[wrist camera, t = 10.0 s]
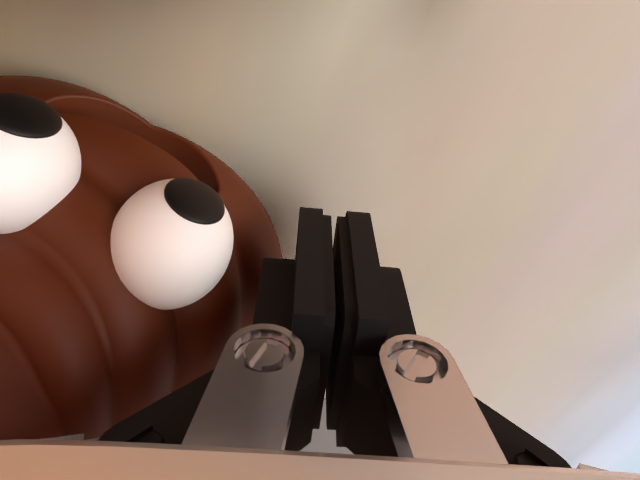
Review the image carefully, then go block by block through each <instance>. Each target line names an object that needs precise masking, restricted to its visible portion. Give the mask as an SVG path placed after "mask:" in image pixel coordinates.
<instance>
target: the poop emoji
mask: <svg viewBox="0 0 640 480" xmlns="http://www.w3.org/2000/svg"><path fill="white" fill-rule="evenodd" d="M264 257H268V258H280V259H282V254H281V249H280V245H279V241H278V238H277V235H276V232H275V229H274V227H273V224H272V222H271V220H270V218H269V216H268V214H267V212H266V210H265V209H264V207H263V205H262V204H261V202H260V201H259V199H258V198H257V196H256V195H255V194H254V193H253V191H252V190H251V189H250V188H249V186H248V185H247V184H246V183H245V182H244V181H243V180H242V179H241V178H240V177H239V176H238V175H237V174H236V173H235V172H234V171H233V170H232V169H231V168H230V167H228V166H227V165H226V164H225V163H223V162H222V161H221V160H220V159H218V158H217V157H216V156H214V155H213V154H211V153H210V152H208V151H207V150H205V149H203V148H202V147H200V146H199V145H197V144H195V143H193V142H191V141H189V140H187V139H185V138H183V137H181V136H179V135H177V134H175V133H173V132H170V131H168V130H165V129H162V128H159V127H156V126H153V125H151V124H150V123H149V122H148V121H146V120H145V119H144V118H142V117H141V116H139V115H138V114H136V113H135V112H133V111H131V110H130V109H128V108H127V107H125V106H123V105H121V104H119V103H118V102H116V101H114V100H112V99H110V98H108V97H105V96H103V95H101V94H99V93H96V92H94V91H91V90H88V89H86V88H83V87H80V86H77V85H73V84H70V83H66V82H62V81H57V80H52V79H46V78H40V77H30V76H0V440H12V439H44V438H52V437H60V436H67V435H75V434H83V433H84V434H85V439H86V440H88V439H96V438H100V437H101V436H102V435H103V433H104V432H106V431H107V430H108V429H110V428H111V427H113V426H114V425H115V424H117V423H119V422H120V421H122V420H124V419H126V418H128V417H129V416H131V415H133V414H135V413H136V412H138V411H140V410H142V409H144V408H145V407H147V406H149V405H151V404H152V403H154V402H156V401H158V400H160V399H161V398H163V397H165V396H167V395H168V394H170V393H172V392H174V391H176V390H177V389H179V388H181V387H183V386H184V385H186V384H188V383H190V382H192V381H193V380H195V379H197V378H199V377H200V376H202V375H204V374H206V373H208V372H209V371H211V370H213V369H215V367H216V365H217V363H218V361H219V358H220V356H221V354H222V352H223V349H224V347H225V345H226V343H227V341H228V340H229V338H230V337H231V336H232V335H233V334H234V333H235V332H237V331H238V330H239V329H242V328H244V327H247V326H249V325H252V323H253V317H254V311H255V305H256V299H257V293H258V287H259V280H260V274H261V268H262V262H263V258H264Z"/></svg>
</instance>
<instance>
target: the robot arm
mask: <svg viewBox="0 0 640 480" xmlns="http://www.w3.org/2000/svg"><path fill="white" fill-rule="evenodd" d="M325 388H326V426H327V430H336V447H347V448H348V449H349V450H350V451H351V452H352V453H353V454H339V453H322V452H305V451H300V450H302V449H303V448H304V447H305V446H307V445H308V444H309V443H310V442H311V438H312V431H313V429H319V428H320V421H321V415H322V408H323V401H324V395H325ZM0 480H640V474H636V473H626V472H612V471H607V470H603V469H599V468H595V467H591V466H588V465H584V464H580V463H579V465H578V467H577V468H576V469H574V468H571V467H570V465H569V464H568V463H567V462H566V461H565V460H564V459H563V458H562V457H561V456H559V455H558V454H557V453H556V452H555V451H553V450H552V449H550V448H549V447H547V446H546V445H544V444H543V443H541V442H540V441H539V440H537V439H536V438H534V437H533V436H531V435H530V434H528V433H527V432H525V431H524V430H522V429H521V428H519V427H518V426H516V425H515V424H514V423H512V422H511V421H509V420H508V419H506V418H505V417H503V416H502V415H500V414H499V413H497V412H496V411H494V410H493V409H491V408H490V407H489V406H487V405H486V404H484V403H483V402H481V401H480V400H478V399H477V398H475V397H474V396H473V394H472V393H471V391H470V389H469V387H468V385H467V383H466V381H465V379H464V377H463V375H462V373H461V371H460V369H459V368H458V366H457V364H456V362H455V360H454V358H453V357H452V355H451V354H450V353H449V351H448V350H447V349H445V348H444V347H443V346H442V345H440V344H439V343H437V342H435V341H433V340H431V339H429V338H426V337H423V336H419V335H416V331H415V327H414V323H413V319H412V315H411V311H410V306H409V302H408V298H407V294H406V290H405V286H404V282H403V278H402V274H401V271H400V269H399V268H391V267H380V264H379V259H378V253H377V248H376V243H375V237H374V232H373V227H372V222H371V216H370V213H361V212H350V211H347V212H346V216H345V217H339V216H338V217H337V222H336V229H335V236H334V244H333V246H332V226H331V216H328V215H323V209H315V208H304V207H300V213H299V223H298V234H297V245H296V256H295V260H293V259H280V258H268V257H264V258H263V262H262V268H261V274H260V280H259V287H258V293H257V299H256V305H255V311H254V317H253V323H252V325H249V326H247V327H244V328H242V329H239V330H238V331H237V332H235V333H234V334H233V335H232V336H231V337H230V338H229V340H228V341H227V343H226V345H225V347H224V349H223V352H222V354H221V356H220V358H219V361H218V363H217V365H216V367H215V369H213V370H211V371H209V372H208V373H206V374H204V375H202V376H200V377H199V378H197V379H195V380H193V381H192V382H190V383H188V384H186V385H184V386H183V387H181V388H179V389H177V390H176V391H174V392H172V393H170V394H168V395H167V396H165V397H163V398H161V399H160V400H158V401H156V402H154V403H152V404H151V405H149V406H147V407H145V408H144V409H142V410H140V411H138V412H136V413H135V414H133V415H131V416H129V417H128V418H126V419H124V420H122V421H120V422H119V423H117V424H115V425H114V426H113V427H111V428H110V429H108V430H107V431H106V432H104V433H103V435H102V436H101V437H100V438H96V439H88V440H86V439H85V434H84V433H83V434H75V435H67V436H60V437H52V438H44V439H12V440H0Z"/></svg>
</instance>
